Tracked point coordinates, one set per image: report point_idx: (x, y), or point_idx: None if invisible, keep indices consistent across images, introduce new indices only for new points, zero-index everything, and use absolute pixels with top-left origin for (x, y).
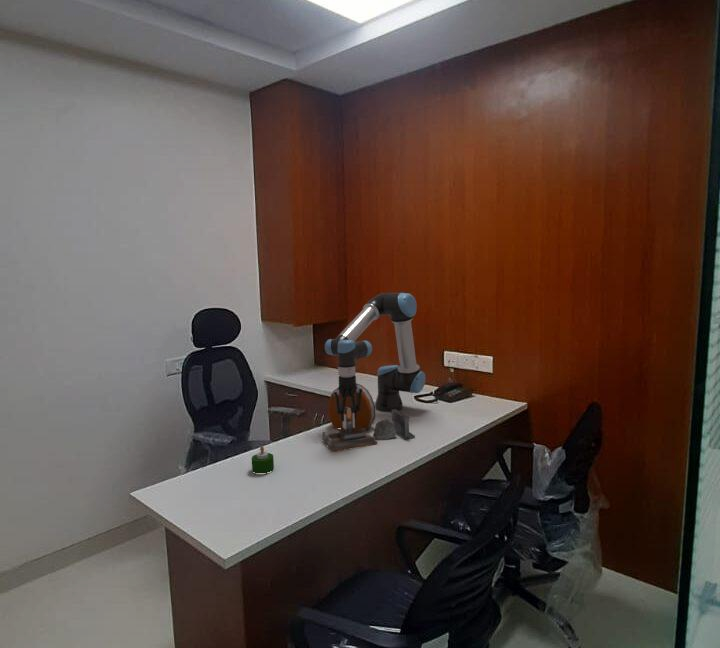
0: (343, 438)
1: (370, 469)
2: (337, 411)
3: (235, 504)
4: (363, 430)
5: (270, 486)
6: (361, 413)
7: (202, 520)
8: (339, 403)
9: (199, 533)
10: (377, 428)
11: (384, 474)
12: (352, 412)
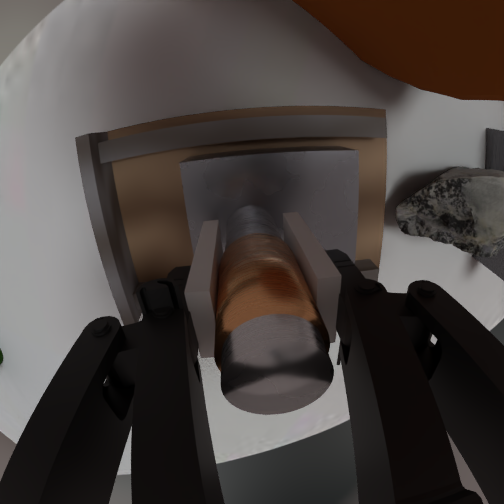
0: None
1: (252, 430)
2: (107, 389)
3: (13, 421)
4: (354, 242)
5: (30, 408)
6: (441, 46)
7: (3, 427)
8: None
9: (17, 442)
10: (436, 229)
11: (276, 446)
12: (328, 312)
